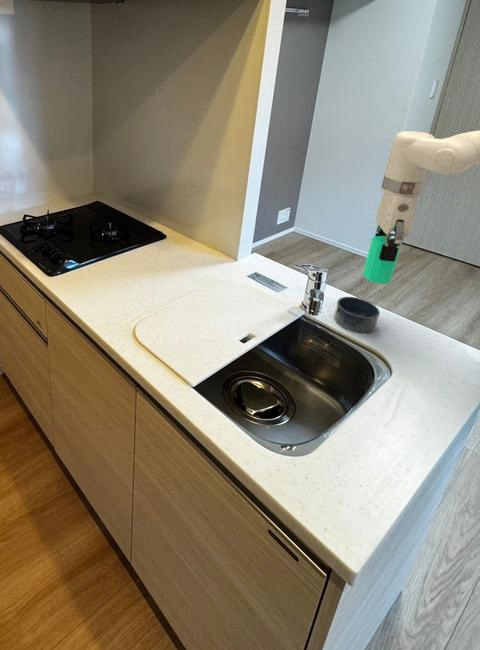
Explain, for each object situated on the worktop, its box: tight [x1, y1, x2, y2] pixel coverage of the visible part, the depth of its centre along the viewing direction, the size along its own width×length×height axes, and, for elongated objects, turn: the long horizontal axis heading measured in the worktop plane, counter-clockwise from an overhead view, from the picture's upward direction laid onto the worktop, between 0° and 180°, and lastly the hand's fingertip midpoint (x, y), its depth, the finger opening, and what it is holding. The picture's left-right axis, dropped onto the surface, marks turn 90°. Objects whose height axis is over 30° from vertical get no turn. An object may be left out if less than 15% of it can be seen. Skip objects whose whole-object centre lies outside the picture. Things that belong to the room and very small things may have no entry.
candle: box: [362, 235, 402, 285], centre depth 103 cm, size 6×6×12 cm
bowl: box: [333, 296, 380, 335], centre depth 113 cm, size 10×10×5 cm
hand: (383, 253), depth 102 cm, fingers closed on candle, 5 cm apart
